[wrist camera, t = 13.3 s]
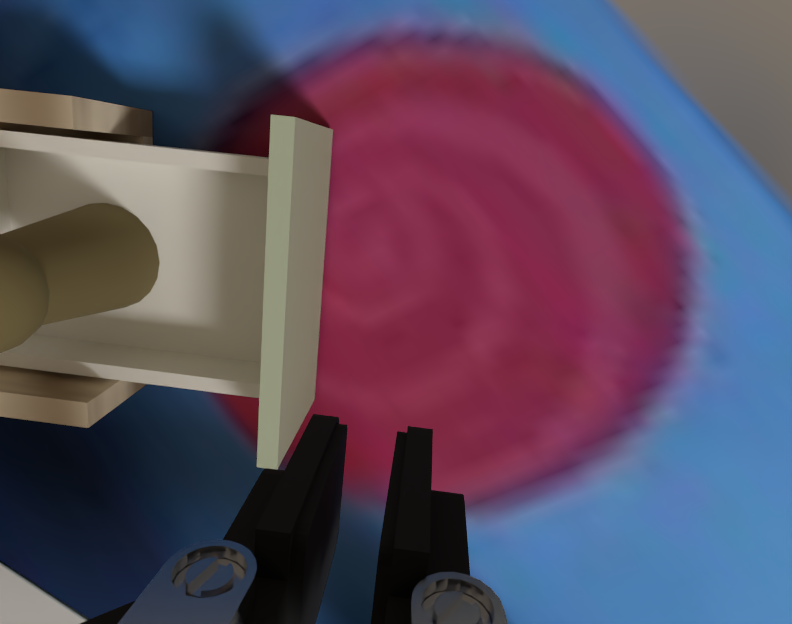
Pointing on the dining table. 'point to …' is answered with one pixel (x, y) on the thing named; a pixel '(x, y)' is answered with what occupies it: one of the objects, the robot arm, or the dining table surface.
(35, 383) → the caddy
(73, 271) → the cork
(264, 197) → the drawer
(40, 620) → the smartphone
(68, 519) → the dining table surface
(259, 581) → the robot arm
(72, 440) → the dining table surface
